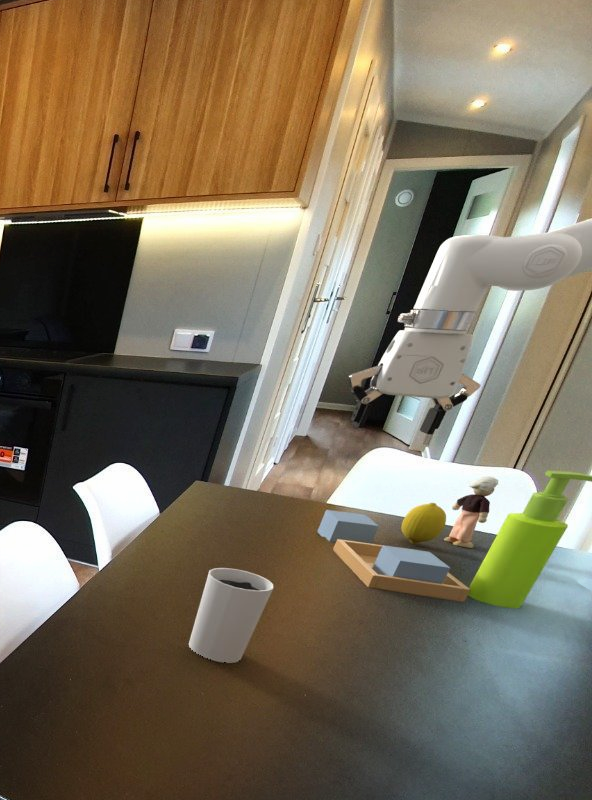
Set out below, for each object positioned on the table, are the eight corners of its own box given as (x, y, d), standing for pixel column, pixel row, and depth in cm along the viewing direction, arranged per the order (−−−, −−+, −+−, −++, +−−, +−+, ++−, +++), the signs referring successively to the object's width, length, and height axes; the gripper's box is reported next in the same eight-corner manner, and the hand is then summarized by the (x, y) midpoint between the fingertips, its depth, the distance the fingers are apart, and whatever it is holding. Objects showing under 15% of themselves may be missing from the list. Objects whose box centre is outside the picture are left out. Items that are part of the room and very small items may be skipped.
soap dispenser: (535, 616, 91) (616, 481, 83) (471, 603, 94) (542, 473, 86) (521, 601, 96) (596, 472, 87) (459, 589, 99) (526, 464, 90)
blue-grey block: (416, 577, 102) (429, 551, 100) (436, 594, 96) (450, 567, 94) (370, 570, 104) (382, 545, 102) (387, 587, 98) (400, 560, 96)
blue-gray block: (355, 536, 120) (364, 514, 118) (368, 549, 114) (379, 525, 112) (317, 531, 122) (326, 509, 120) (328, 543, 116) (338, 520, 114)
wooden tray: (413, 563, 108) (420, 550, 107) (462, 604, 94) (470, 589, 93) (331, 552, 112) (337, 538, 111) (366, 589, 98) (373, 575, 97)
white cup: (193, 632, 84) (216, 563, 80) (251, 651, 80) (279, 580, 76) (177, 649, 80) (201, 577, 76) (237, 671, 76) (266, 596, 71)
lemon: (401, 546, 116) (421, 505, 113) (389, 536, 121) (407, 496, 117) (439, 551, 114) (460, 509, 111) (425, 541, 119) (445, 500, 115)
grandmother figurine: (486, 550, 115) (522, 483, 110) (465, 549, 115) (500, 482, 110) (447, 535, 122) (479, 471, 117) (427, 534, 122) (458, 470, 117)
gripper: (381, 320, 101) (338, 427, 109) (522, 327, 96) (465, 440, 103) (364, 319, 108) (323, 420, 115) (494, 325, 102) (443, 431, 110)
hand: (390, 429), depth 109 cm, fingers open, 9 cm apart
